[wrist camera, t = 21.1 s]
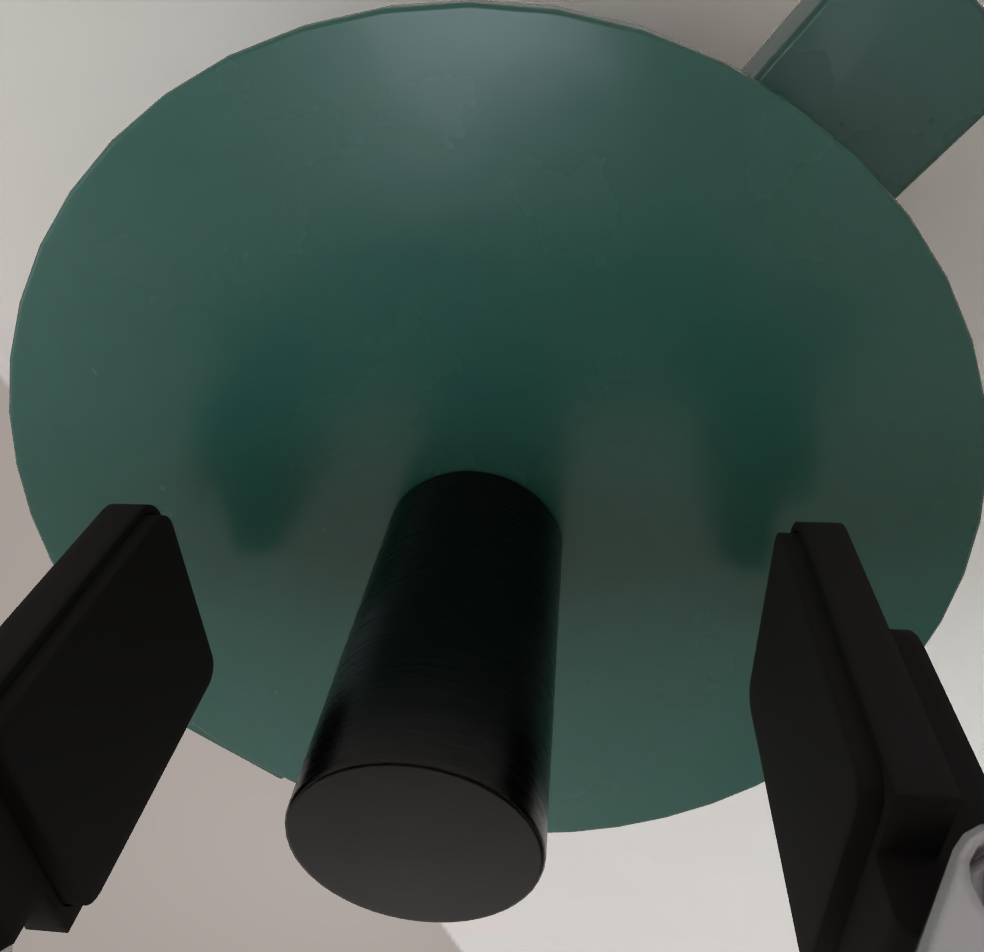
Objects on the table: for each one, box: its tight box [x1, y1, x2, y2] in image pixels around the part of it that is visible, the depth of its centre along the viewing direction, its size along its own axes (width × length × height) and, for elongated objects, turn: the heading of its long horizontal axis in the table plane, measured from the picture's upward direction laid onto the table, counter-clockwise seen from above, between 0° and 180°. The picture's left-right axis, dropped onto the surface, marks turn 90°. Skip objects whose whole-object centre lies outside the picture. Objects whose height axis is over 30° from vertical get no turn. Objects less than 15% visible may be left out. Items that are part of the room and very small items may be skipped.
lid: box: [9, 0, 984, 922], centre depth 11 cm, size 14×14×6 cm
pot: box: [187, 0, 984, 778], centre depth 17 cm, size 12×18×9 cm
